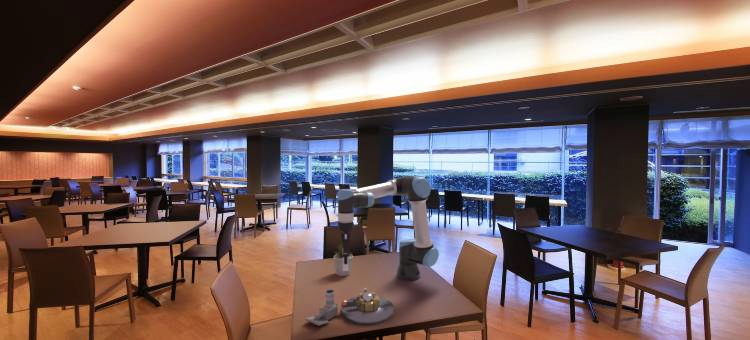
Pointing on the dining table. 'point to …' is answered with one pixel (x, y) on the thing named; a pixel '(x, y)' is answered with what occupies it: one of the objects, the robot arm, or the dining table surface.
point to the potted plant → (341, 262)
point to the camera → (325, 310)
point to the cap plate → (372, 316)
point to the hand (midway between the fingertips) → (345, 265)
